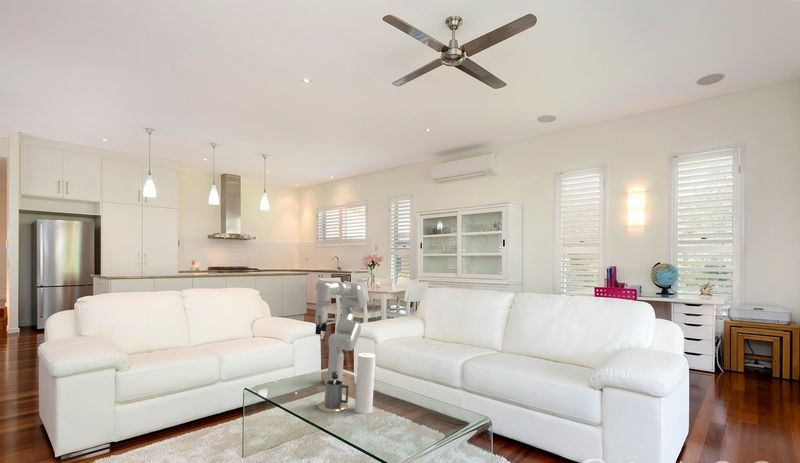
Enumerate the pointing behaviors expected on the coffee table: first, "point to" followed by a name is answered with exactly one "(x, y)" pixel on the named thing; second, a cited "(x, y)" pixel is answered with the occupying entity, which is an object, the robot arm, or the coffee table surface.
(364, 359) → the cylinder container
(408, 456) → the coffee table surface
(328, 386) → the press carafe
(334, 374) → the plunger
